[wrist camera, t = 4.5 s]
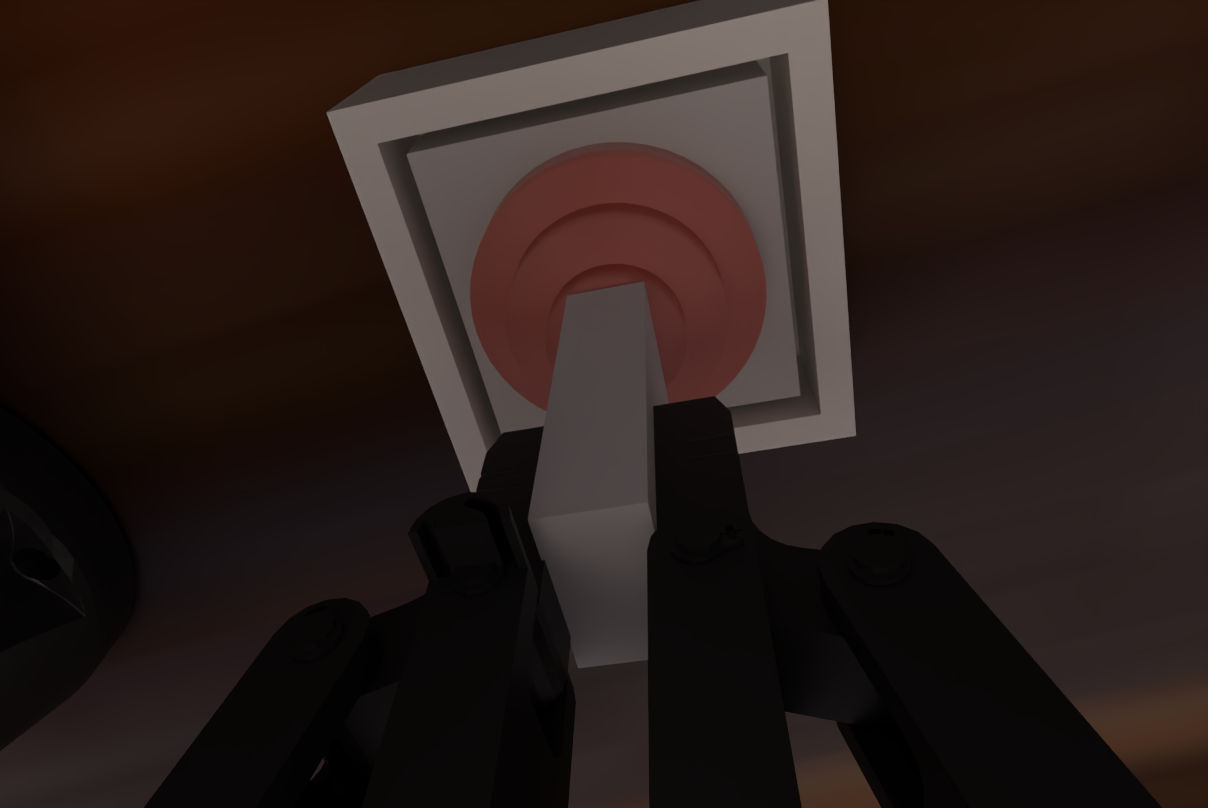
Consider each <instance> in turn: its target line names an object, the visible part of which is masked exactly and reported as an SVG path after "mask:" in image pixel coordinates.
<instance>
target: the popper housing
mask: <svg viewBox="0 0 1208 808" xmlns="http://www.w3.org/2000/svg"><path fill="white" fill-rule="evenodd" d="M754 60H756V61H757V62H758V64H759V65H760V67H761V68H762V69H763V71H764V72H765V74H766V75H767V81H768V90H769V100H770V109H771V119H772V129H773V138H774V148H775V157H776V167H777V176H778V186H779V195H780V205H781V214H782V224H783V233H784V243H785V252H786V262H787V271H788V281H789V291H790V300H791V310H792V319H793V329H794V338H795V348H796V357H797V367H798V376H799V386H800V395H801V396H796V397H789V398H783V399H777V400H771V401H765V402H759V403H752V404H746V405H740V406H734V407H728V409H729V410H730V411H731V415H732V421H733V426H734V432H735V438H736V443H737V449H738V454H741V453H747V452H754V451H760V450H767V449H773V448H780V447H786V446H793V445H799V444H806V443H812V442H819V441H825V440H832V439H838V438H845V437H851V436H856V427H855V412H854V396H853V381H852V365H851V350H850V335H849V319H848V304H847V289H846V273H845V258H844V243H843V227H842V212H841V196H840V181H839V166H838V150H837V135H836V120H835V104H834V89H833V74H832V58H831V43H830V27H829V12H828V0H698V1H694V2H690V3H685V4H681V5H677V6H673V7H668V8H664V9H660V10H655V11H651V12H647V13H643V14H638V15H634V16H630V17H625V18H621V19H617V20H613V21H608V22H604V23H600V24H595V25H591V26H587V27H583V28H578V29H574V30H570V31H565V32H561V33H557V34H553V35H548V36H544V37H540V38H535V39H531V40H527V41H522V42H518V43H514V44H510V45H505V46H501V47H497V48H492V49H488V50H484V51H480V52H475V53H471V54H467V55H462V56H458V57H454V58H450V59H445V60H441V61H437V62H432V63H428V64H424V65H420V66H415V67H411V68H407V69H402V70H398V71H394V72H390V73H385V74H381V75H378V76H377V77H375V78H374V79H373V80H371V81H370V82H368V83H367V84H365V85H364V86H363V87H361V88H360V89H358V90H357V91H356V92H354V93H353V94H351V95H350V96H349V97H347V98H346V99H344V100H343V101H342V102H340V103H339V104H337V105H336V106H334V107H333V108H332V109H330V110H329V111H327V112H326V113H327V116H328V118H329V121H330V124H331V126H332V129H333V132H334V134H335V137H336V139H337V142H338V145H339V147H340V150H341V153H342V155H343V158H344V160H345V163H346V166H347V168H348V171H349V174H350V176H351V179H352V181H353V184H354V187H355V189H356V192H357V195H358V197H359V200H360V202H361V205H362V208H363V210H364V213H365V216H366V218H367V221H368V223H369V226H370V229H371V231H372V234H373V237H374V239H375V242H376V245H377V247H378V250H379V252H380V255H381V258H382V260H383V263H384V266H385V268H386V271H387V273H388V276H389V279H390V281H391V284H392V287H393V289H394V292H395V294H396V297H397V300H398V302H399V305H400V308H401V310H402V313H403V315H404V318H405V321H406V323H407V326H408V329H409V331H410V334H411V336H412V339H413V342H414V344H415V347H416V350H417V352H418V355H419V357H420V360H421V363H422V365H423V368H424V371H425V373H426V376H427V378H428V381H429V384H430V386H431V389H432V392H433V394H434V397H435V399H436V402H437V405H438V407H439V410H440V413H441V415H442V418H443V420H444V423H445V426H446V428H447V431H448V434H449V436H450V439H451V441H452V444H453V447H454V449H455V452H456V455H457V457H458V460H459V462H460V465H461V468H462V470H463V473H464V476H465V478H466V481H467V483H468V486H469V489H470V491H471V492H476V489H477V485H478V481H479V478H480V477H481V470H482V467H483V463H484V459H485V456H486V452H487V451H488V450H489V449H490V448H491V447H492V445H493V444H494V443H495V442H496V441H497V439H498V438H499V437H500V436H501V435H502V434H501V431H500V428H499V426H498V423H497V420H496V417H495V414H494V411H493V408H492V405H491V402H490V399H489V396H488V393H487V390H486V387H485V384H484V381H483V378H482V376H481V373H480V370H479V367H478V364H477V361H476V358H475V355H474V352H473V349H472V346H471V343H470V340H469V337H468V334H467V331H466V328H465V326H464V323H463V320H462V317H461V314H460V311H459V308H458V305H457V302H456V299H455V296H454V293H453V290H452V287H451V284H450V281H449V278H448V276H447V273H446V270H445V267H444V264H443V261H442V258H441V255H440V252H439V249H438V246H437V243H436V240H435V237H434V234H433V231H432V228H431V225H430V223H429V220H428V217H427V214H426V211H425V208H424V205H423V202H422V199H421V196H420V193H419V190H418V187H417V184H416V181H415V178H414V175H413V173H412V170H411V167H410V164H409V161H408V158H407V155H406V154H407V153H408V151H409V150H410V149H411V148H412V147H413V146H414V145H415V143H416V142H417V141H418V140H419V139H420V138H421V137H422V135H423V134H424V133H427V132H432V131H436V130H441V129H445V128H450V127H455V126H459V125H464V124H468V123H473V122H477V121H482V120H486V119H491V118H495V117H500V116H504V115H509V114H513V113H518V112H523V111H527V110H532V109H536V108H541V107H545V106H550V105H554V104H559V103H563V102H568V101H572V100H577V99H581V98H586V97H590V96H595V95H600V94H604V93H609V92H613V91H618V90H622V89H627V88H631V87H636V86H640V85H645V84H649V83H654V82H658V81H663V80H668V79H672V78H677V77H681V76H686V75H690V74H695V73H699V72H704V71H708V70H713V69H717V68H722V67H726V66H731V65H735V64H740V63H745V62H749V61H754Z"/></svg>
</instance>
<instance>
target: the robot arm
mask: <svg viewBox="0 0 1208 808" xmlns="http://www.w3.org/2000/svg"><path fill="white" fill-rule="evenodd" d="M408 535H409V537H410V539H411V542H412V544H413V546H414V548H415V551H416V553H417V555H418V557H419V560H420V562H421V564H422V566H423V569H424V571H425V573H426V575H427V577H428V580H429V584H428V587H427V591H426V594H424V595H423V596H422V597H419V598H417V599H415V600H413V601H411V602H409V603H407V604H404V605H402V606H399V607H396V608H394V609H391V610H389V611H386V612H383V613H381V614H378V615H376V616H373V617H370V615H369V613H368V611H367V610H366V609H365V608H364V607H363V606H362V605H361V603H360V602H358V601H354V600H351V599H347V598H339V599H330V600H325V601H322V602H319V603H317V604H314V605H312V606H309V607H307V608H305V609H304V610H302V611H300V612H299V613H297V614H296V615H294V616H293V617H291V618H290V619H288V620H287V621H286V622H285V624H284V625H283V626H282V627H281V628H280V629H279V630H278V631H277V632H276V633H275V634H274V635H273V636H272V638H271V639H270V640H269V642H268V643H267V644H266V646H265V647H264V648H263V650H262V651H261V652H260V654H259V655H258V656H257V658H256V659H255V660H254V662H253V663H252V664H251V666H250V667H249V668H248V670H247V671H246V672H245V674H244V675H243V676H242V678H241V679H240V680H239V682H238V683H237V684H236V686H235V687H234V688H233V690H232V691H231V692H230V694H229V695H228V696H227V698H226V699H225V700H224V702H223V703H222V704H221V706H220V707H219V708H218V710H217V711H216V712H215V714H214V715H213V716H212V718H211V719H210V720H209V722H208V723H207V724H206V726H205V727H204V728H203V730H202V731H201V732H200V734H199V735H198V736H197V738H196V739H195V740H194V742H193V743H192V744H191V746H190V747H189V748H188V750H187V751H186V752H185V754H184V755H183V756H182V758H181V759H180V760H179V762H178V763H177V764H176V766H175V767H174V768H173V770H172V771H171V772H170V774H169V775H168V776H167V778H166V779H165V780H164V782H163V783H162V784H161V786H160V787H159V788H158V790H157V791H156V792H155V794H154V795H153V796H152V798H151V799H150V800H149V802H148V803H147V804H146V805H145V807H144V808H568V801H569V787H570V773H571V760H572V746H573V733H574V719H575V706H576V700H575V694H574V688H573V685H572V682H571V679H570V677H569V674H568V661H569V650H570V645H571V648H572V651H573V654H574V657H575V660H576V663H577V666H578V668H585V667H593V666H601V665H610V664H618V663H627V662H635V661H644V660H648V711H649V808H802V807H801V801H800V796H799V790H798V784H797V779H796V773H795V767H794V762H793V756H792V750H791V745H790V739H789V733H788V728H787V722H786V716H785V711H786V712H791V713H796V714H802V715H807V716H812V717H818V718H823V719H828V720H833V721H837V725H838V728H839V730H840V732H841V734H842V736H843V737H844V739H845V741H846V743H847V745H848V747H849V749H850V750H851V752H852V754H853V756H854V758H855V760H856V762H857V763H858V765H859V767H860V769H861V771H862V773H863V774H864V776H865V778H866V780H867V782H868V784H869V786H870V787H871V789H872V791H873V793H874V795H875V797H876V799H877V800H878V802H879V804H880V806H881V808H1162V807H1161V806H1160V805H1159V804H1158V802H1157V801H1156V800H1155V799H1154V798H1153V797H1152V796H1151V794H1150V793H1149V792H1148V791H1147V790H1146V789H1145V787H1144V786H1143V785H1142V784H1141V783H1140V782H1139V781H1138V779H1137V778H1136V777H1135V776H1134V775H1133V774H1132V772H1131V771H1130V770H1129V769H1128V768H1127V767H1126V766H1125V764H1124V763H1123V762H1122V761H1121V760H1120V759H1119V757H1118V756H1117V755H1116V754H1115V753H1114V752H1113V751H1112V749H1111V748H1110V747H1109V746H1108V745H1107V744H1106V742H1105V741H1104V740H1103V739H1102V738H1101V737H1100V736H1099V734H1098V733H1097V732H1096V731H1095V730H1094V729H1093V727H1092V726H1091V725H1090V724H1089V723H1088V722H1087V721H1086V719H1085V718H1084V717H1083V716H1082V715H1081V714H1080V712H1079V711H1078V710H1077V709H1076V708H1075V707H1074V706H1073V704H1072V703H1071V702H1070V701H1069V700H1068V699H1067V697H1066V696H1065V695H1064V694H1063V693H1062V692H1061V690H1060V689H1059V688H1058V687H1057V686H1056V685H1055V684H1054V682H1053V681H1052V680H1051V679H1050V678H1049V677H1048V675H1047V674H1046V673H1045V672H1044V671H1043V670H1042V669H1041V667H1040V666H1039V665H1038V664H1037V663H1036V662H1035V660H1034V659H1033V658H1032V657H1031V656H1030V655H1029V654H1028V652H1027V651H1026V650H1025V649H1024V648H1023V647H1022V645H1021V644H1020V643H1019V642H1018V641H1017V640H1016V639H1015V637H1014V636H1013V635H1012V634H1011V633H1010V632H1009V630H1008V629H1007V628H1006V627H1005V626H1004V625H1003V624H1002V622H1001V621H1000V620H999V619H998V618H997V617H996V615H995V614H994V613H993V612H992V611H991V610H990V609H989V607H988V606H987V605H986V604H985V603H984V602H983V600H982V599H981V598H980V597H979V596H978V595H977V594H976V592H975V591H974V590H973V589H972V588H971V587H970V585H969V584H968V583H967V582H966V581H965V580H964V579H963V577H962V576H961V575H960V574H959V573H958V572H957V570H956V569H955V568H954V567H953V566H952V565H951V563H950V562H949V561H948V560H947V559H946V558H945V557H944V555H943V554H942V553H941V552H940V551H939V550H938V548H937V547H936V546H935V545H934V544H933V543H932V542H930V541H929V540H928V539H926V538H925V537H924V536H923V535H921V534H920V533H919V532H917V531H914V530H911V529H909V528H906V527H903V526H900V525H898V524H889V523H878V522H872V523H866V524H860V525H854V526H850V527H848V528H846V529H844V530H842V531H840V532H838V533H836V534H834V535H833V536H832V537H831V538H830V539H829V540H828V541H827V542H826V544H825V545H824V546H823V547H822V549H821V550H817V549H807V548H800V547H794V546H789V545H785V544H782V543H780V542H777V541H775V540H772V539H771V538H769V537H768V536H766V535H765V534H763V533H762V532H760V531H759V529H758V528H757V527H756V526H755V525H754V523H753V522H752V519H751V517H750V514H749V510H748V505H747V499H746V494H745V488H744V482H743V477H742V471H741V466H740V460H739V454H738V449H737V443H736V438H735V432H734V426H733V421H732V415H731V411H730V410H729V409H728V408H727V407H726V406H725V405H724V404H722V403H721V402H720V401H719V400H718V399H717V398H716V397H715V396H712V397H705V398H699V399H693V400H687V401H681V402H675V403H669V400H668V395H667V390H666V385H665V380H664V375H663V371H662V366H661V361H660V356H659V351H658V346H657V341H656V336H655V331H654V327H653V322H652V317H651V312H650V307H649V302H648V297H647V292H646V288H645V283H644V281H643V282H638V283H632V284H627V285H622V286H616V287H611V288H605V289H600V290H595V291H589V292H584V293H578V294H573V295H568V296H567V299H566V305H565V310H564V316H563V322H562V327H561V333H560V339H559V344H558V350H557V356H556V361H555V367H554V373H553V378H552V384H551V390H550V395H549V401H548V407H547V412H546V418H545V424H544V426H541V427H535V428H529V429H523V430H516V431H510V432H504V433H502V435H501V436H500V437H499V438H498V439H497V441H496V442H495V443H494V444H493V445H492V447H491V448H490V449H489V450H488V451H487V452H486V456H485V459H484V463H483V467H482V470H481V477H480V478H479V481H478V485H477V489H476V492H467V493H464V494H460V495H456V496H453V497H449V498H447V499H445V500H443V501H441V502H439V503H437V504H436V505H434V506H432V507H430V508H429V509H428V510H427V511H426V512H424V513H423V514H422V515H421V516H420V517H419V518H418V519H416V521H415V522H414V524H413V526H412V527H411V529H410V531H409V532H408ZM134 593H135V579H134V571H133V564H132V561H131V557H130V553H129V550H128V547H127V544H126V541H125V539H124V537H123V535H122V532H121V530H120V528H119V526H118V524H117V522H116V521H115V519H114V517H113V515H112V514H111V512H110V510H109V509H108V507H107V506H106V504H105V503H104V501H103V500H102V499H101V497H100V496H99V494H98V493H97V492H96V490H95V489H94V488H93V487H92V485H91V484H90V483H89V482H88V481H87V479H86V478H85V477H84V476H83V475H82V474H81V473H80V472H79V471H78V469H77V468H76V467H75V466H74V465H73V464H72V463H71V462H70V461H69V460H68V459H67V458H66V457H65V456H64V455H63V454H61V453H60V452H59V451H58V450H57V449H56V448H55V447H54V446H53V445H51V444H50V443H49V442H48V441H47V440H46V439H44V438H43V437H42V436H41V435H39V434H38V433H37V432H36V431H34V430H33V429H32V428H30V427H29V426H28V425H26V424H25V423H24V422H22V421H21V420H19V419H18V418H16V417H15V416H14V415H12V414H11V413H9V412H8V411H6V410H4V409H3V408H1V407H0V751H1V750H2V749H4V748H5V747H6V746H7V745H9V744H10V743H11V742H13V741H14V740H15V739H17V738H18V737H19V736H20V735H22V734H23V733H24V732H26V731H27V730H28V729H30V728H31V727H32V726H33V725H35V724H36V723H37V722H39V721H40V720H41V719H43V718H44V717H45V716H46V715H48V714H49V713H50V712H52V711H53V710H54V709H55V708H57V707H58V706H59V705H61V704H62V703H63V702H65V701H66V700H67V699H68V698H70V697H71V696H72V695H73V694H74V693H75V692H76V691H77V690H78V689H79V688H80V687H81V686H82V685H83V684H84V683H85V682H86V681H87V680H88V679H89V677H90V676H91V675H92V674H93V673H94V671H95V670H96V668H97V667H98V665H99V664H100V662H101V661H102V660H103V658H104V657H105V655H106V654H107V652H108V651H109V650H110V648H111V647H112V645H113V644H114V642H115V641H116V640H117V638H118V637H119V635H120V634H121V632H122V631H123V629H124V628H125V626H126V624H127V621H128V619H129V617H130V614H131V610H132V607H133V602H134ZM322 758H323V759H324V761H325V763H324V764H323V766H322V768H321V770H320V771H319V772H318V773H317V774H316V775H315V777H314V778H313V779H312V780H310V778H311V777H312V775H313V773H314V772H315V770H316V768H317V767H318V765H319V763H320V762H321V760H322ZM309 780H310V781H309Z"/></svg>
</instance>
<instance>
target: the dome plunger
mask: <svg viewBox="0 0 1208 808" xmlns="http://www.w3.org/2000/svg"><path fill="white" fill-rule="evenodd" d="M406 155H407V158H408V161H409V164H410V167H411V170H412V173H413V175H414V178H415V181H416V184H417V187H418V190H419V193H420V196H421V199H422V202H423V205H424V208H425V211H426V214H427V217H428V220H429V223H430V225H431V228H432V231H433V234H434V237H435V240H436V243H437V246H438V249H439V252H440V255H441V258H442V261H443V264H444V267H445V270H446V273H447V276H448V278H449V281H450V284H451V287H452V290H453V293H454V296H455V299H456V302H457V305H458V308H459V311H460V314H461V317H462V320H463V323H464V326H465V328H466V331H467V334H468V337H469V340H470V343H471V346H472V349H473V352H474V355H475V358H476V361H477V364H478V367H479V370H480V373H481V376H482V378H483V381H484V384H485V387H486V390H487V393H488V396H489V399H490V402H491V405H492V408H493V411H494V414H495V417H496V420H497V423H498V426H499V428H500V431H501V434H502V433H504V432H510V431H516V430H523V429H529V428H535V427H541V426H544V424H545V418H546V412H547V407H548V401H549V395H550V390H551V384H552V378H553V373H554V367H555V361H556V356H557V350H558V344H559V339H560V333H561V327H562V322H563V316H564V310H565V305H566V299H567V296H568V295H573V294H578V293H584V292H589V291H595V290H600V289H605V288H611V287H616V286H622V285H627V284H632V283H638V282H643V281H644V283H645V288H646V292H647V297H648V302H649V307H650V312H651V317H652V322H653V327H654V331H655V336H656V341H657V346H658V351H659V356H660V361H661V366H662V371H663V375H664V380H665V385H666V390H667V395H668V400H669V403H675V402H681V401H687V400H693V399H699V398H705V397H712V396H715V397H716V398H717V399H718V400H719V401H720V402H721V403H722V404H724V405H725V406H726V407H727V408H728V407H734V406H740V405H746V404H752V403H759V402H765V401H771V400H777V399H783V398H789V397H796V396H801V395H800V386H799V376H798V367H797V357H796V348H795V338H794V329H793V319H792V310H791V300H790V291H789V281H788V271H787V262H786V252H785V243H784V233H783V224H782V214H781V205H780V195H779V186H778V176H777V167H776V157H775V148H774V138H773V129H772V119H771V109H770V100H769V90H768V81H767V75H766V74H765V72H764V71H763V69H762V68H761V67H760V65H759V64H758V62H757V61H756V60H754V61H749V62H745V63H740V64H735V65H731V66H726V67H722V68H717V69H713V70H708V71H704V72H699V73H695V74H690V75H686V76H681V77H677V78H672V79H668V80H663V81H658V82H654V83H649V84H645V85H640V86H636V87H631V88H627V89H622V90H618V91H613V92H609V93H604V94H600V95H595V96H590V97H586V98H581V99H577V100H572V101H568V102H563V103H559V104H554V105H550V106H545V107H541V108H536V109H532V110H527V111H523V112H518V113H513V114H509V115H504V116H500V117H495V118H491V119H486V120H482V121H477V122H473V123H468V124H464V125H459V126H455V127H450V128H445V129H441V130H436V131H432V132H427V133H424V134H423V135H422V137H421V138H420V139H419V140H418V141H417V142H416V143H415V145H414V146H413V147H412V148H411V149H410V150H409V151H408V153H407V154H406Z"/></svg>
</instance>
